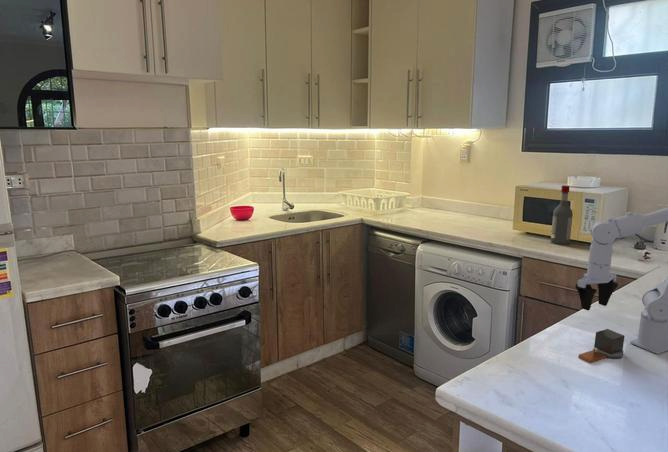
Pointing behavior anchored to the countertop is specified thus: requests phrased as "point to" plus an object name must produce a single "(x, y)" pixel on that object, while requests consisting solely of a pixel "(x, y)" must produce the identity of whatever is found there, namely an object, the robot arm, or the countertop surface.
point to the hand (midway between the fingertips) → (594, 307)
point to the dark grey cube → (609, 341)
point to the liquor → (562, 220)
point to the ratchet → (599, 355)
